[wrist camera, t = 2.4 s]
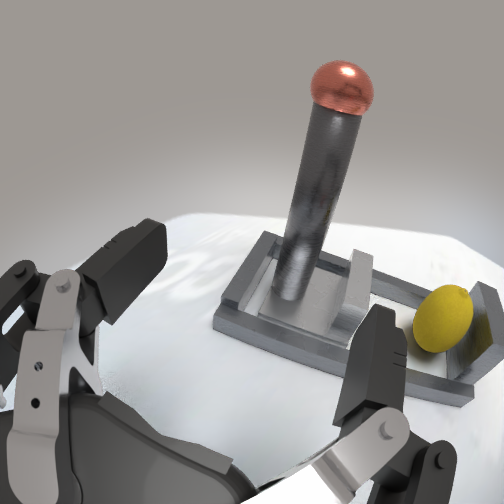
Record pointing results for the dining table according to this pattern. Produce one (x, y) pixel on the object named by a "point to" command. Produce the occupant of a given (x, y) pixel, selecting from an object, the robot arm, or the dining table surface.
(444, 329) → the lemon
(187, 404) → the dining table surface
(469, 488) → the dining table surface
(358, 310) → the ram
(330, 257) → the frame
